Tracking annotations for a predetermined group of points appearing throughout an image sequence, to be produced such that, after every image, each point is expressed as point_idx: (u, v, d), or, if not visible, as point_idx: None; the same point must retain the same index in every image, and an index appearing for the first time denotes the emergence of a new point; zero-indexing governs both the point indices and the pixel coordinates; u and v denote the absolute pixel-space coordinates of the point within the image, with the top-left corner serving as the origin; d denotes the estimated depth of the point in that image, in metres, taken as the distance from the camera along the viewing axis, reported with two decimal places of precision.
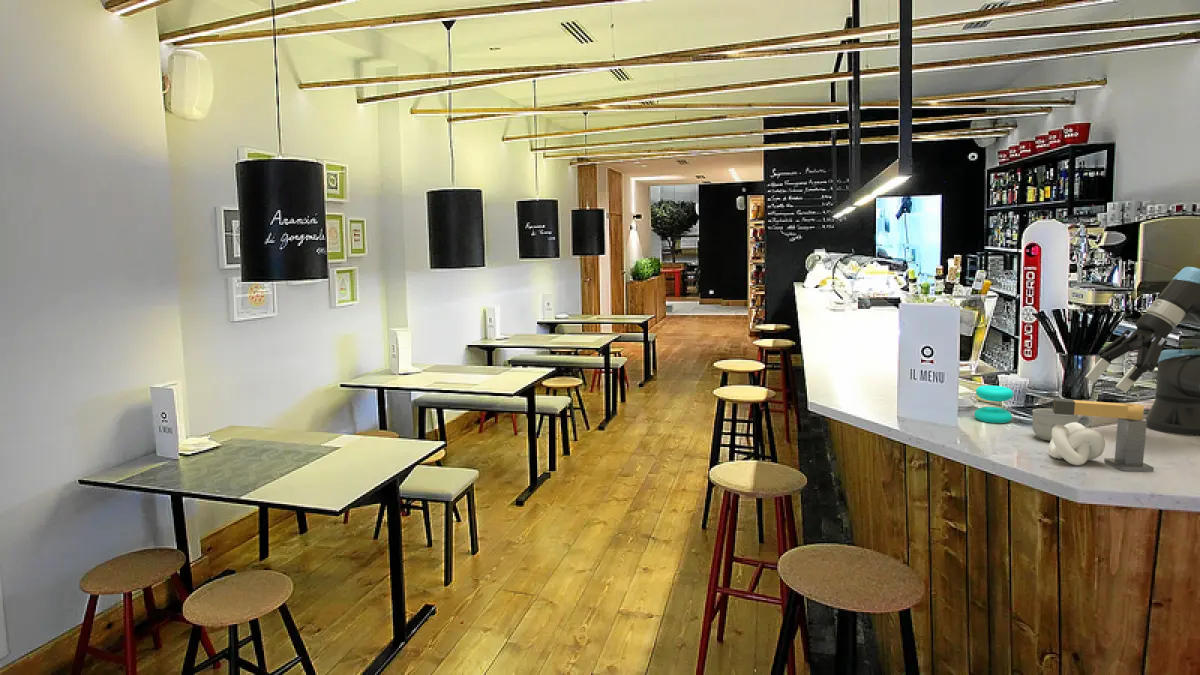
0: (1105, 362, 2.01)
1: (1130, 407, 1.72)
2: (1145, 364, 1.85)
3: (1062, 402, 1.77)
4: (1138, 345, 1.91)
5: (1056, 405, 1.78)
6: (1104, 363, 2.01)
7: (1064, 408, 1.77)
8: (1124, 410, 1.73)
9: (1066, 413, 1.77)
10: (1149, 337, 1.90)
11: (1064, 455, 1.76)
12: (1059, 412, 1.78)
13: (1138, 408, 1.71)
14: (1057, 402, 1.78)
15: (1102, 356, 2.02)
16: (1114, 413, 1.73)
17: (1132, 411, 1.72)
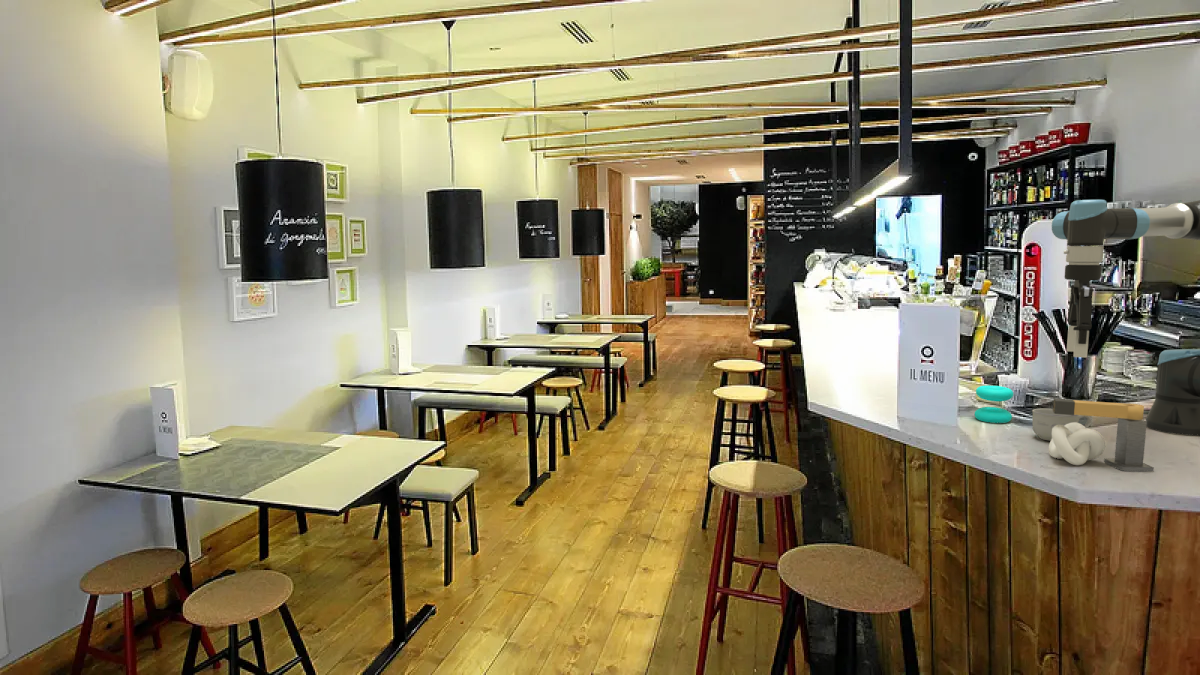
0: None
1: (1130, 407, 1.72)
2: (1079, 326, 1.75)
3: (1062, 402, 1.77)
4: (1074, 302, 1.79)
5: (1056, 405, 1.78)
6: None
7: (1064, 408, 1.77)
8: (1124, 410, 1.73)
9: (1066, 413, 1.77)
10: (1078, 288, 1.78)
11: (1064, 455, 1.76)
12: (1059, 412, 1.78)
13: (1138, 408, 1.71)
14: (1057, 402, 1.78)
15: (1069, 323, 1.87)
16: (1114, 413, 1.73)
17: (1132, 411, 1.72)
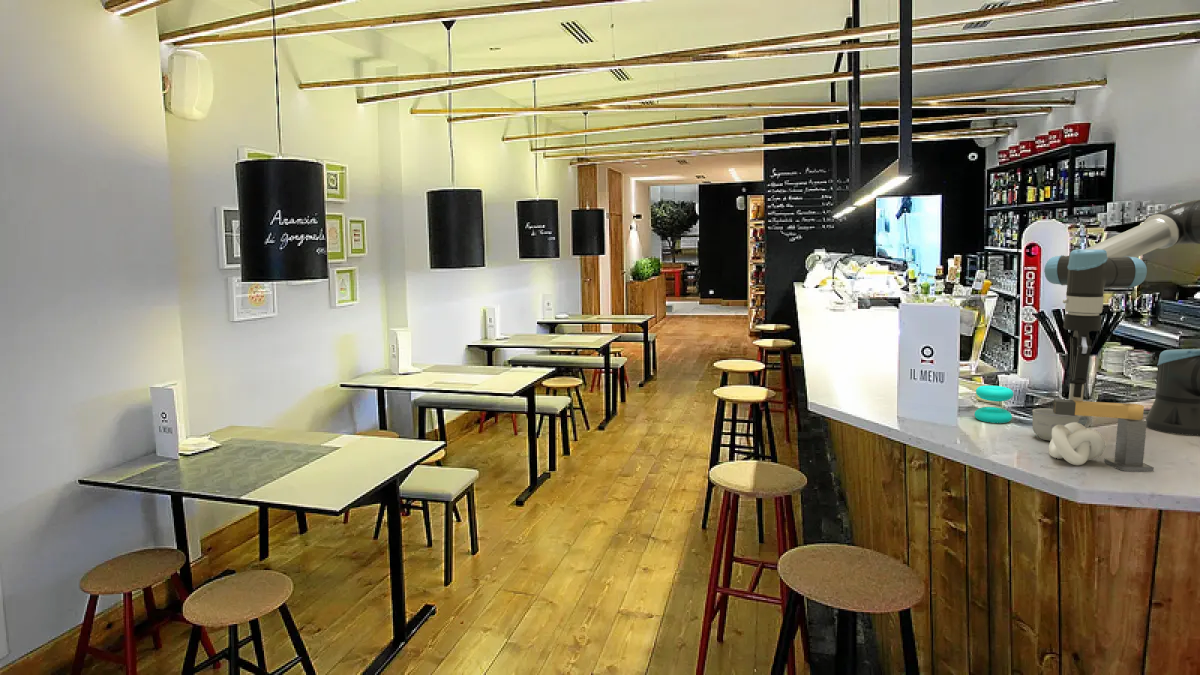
0: None
1: (1130, 407, 1.72)
2: (1074, 381, 1.76)
3: (1063, 403, 1.77)
4: (1072, 352, 1.77)
5: (1057, 406, 1.77)
6: None
7: (1064, 409, 1.77)
8: (1124, 410, 1.72)
9: (1067, 414, 1.77)
10: (1077, 340, 1.74)
11: (1064, 455, 1.76)
12: (1060, 413, 1.77)
13: (1138, 408, 1.71)
14: (1058, 403, 1.77)
15: (1071, 378, 1.80)
16: (1115, 414, 1.73)
17: (1132, 411, 1.71)
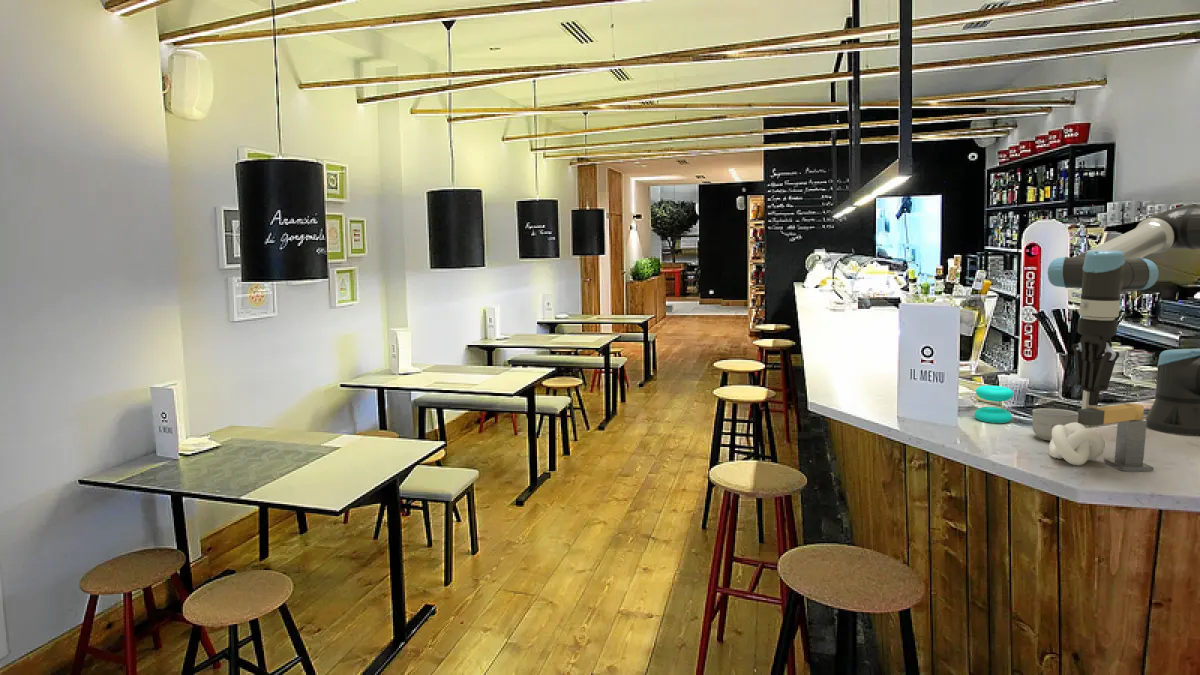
0: None
1: (1138, 408, 1.71)
2: (1095, 389, 1.67)
3: (1096, 413, 1.66)
4: (1089, 359, 1.69)
5: (1092, 417, 1.66)
6: None
7: (1097, 419, 1.67)
8: (1133, 411, 1.71)
9: (1098, 423, 1.67)
10: (1100, 346, 1.66)
11: (1064, 455, 1.76)
12: (1094, 424, 1.67)
13: (1143, 408, 1.71)
14: (1093, 413, 1.66)
15: (1083, 386, 1.72)
16: (1128, 416, 1.70)
17: (1139, 411, 1.71)
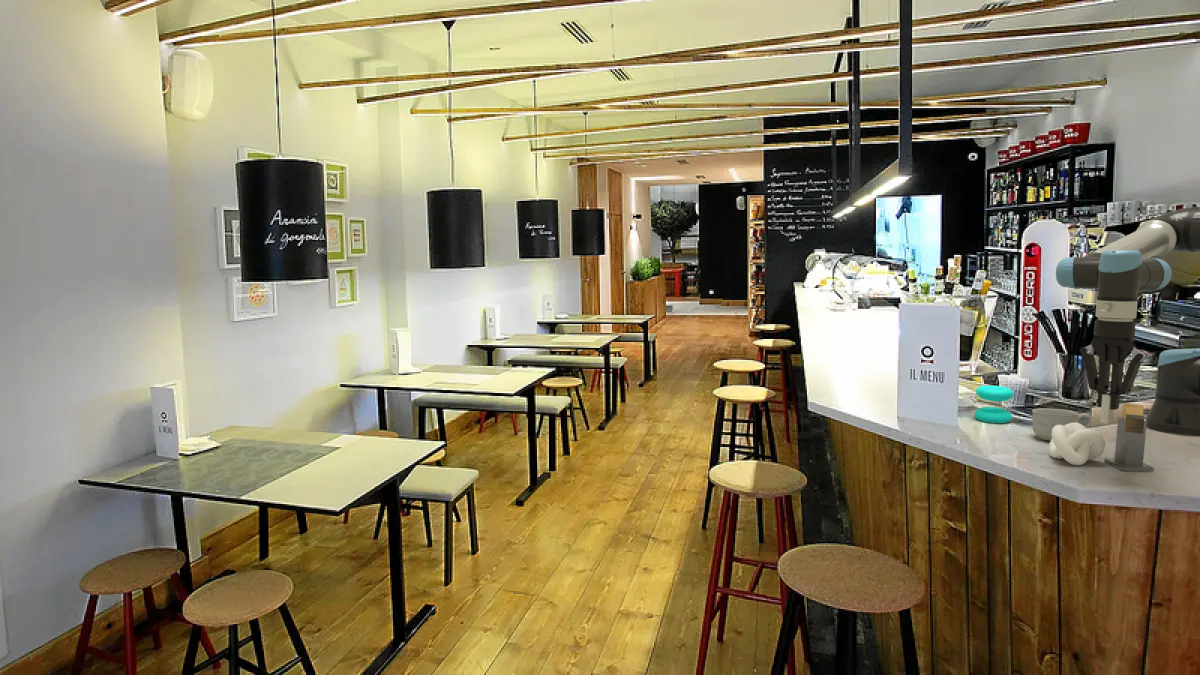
0: None
1: (1142, 407, 1.71)
2: (1123, 392, 1.62)
3: None
4: (1113, 362, 1.63)
5: (1143, 424, 1.59)
6: None
7: None
8: None
9: None
10: (1127, 348, 1.61)
11: (1064, 455, 1.76)
12: None
13: None
14: None
15: (1102, 390, 1.66)
16: None
17: (1143, 411, 1.72)
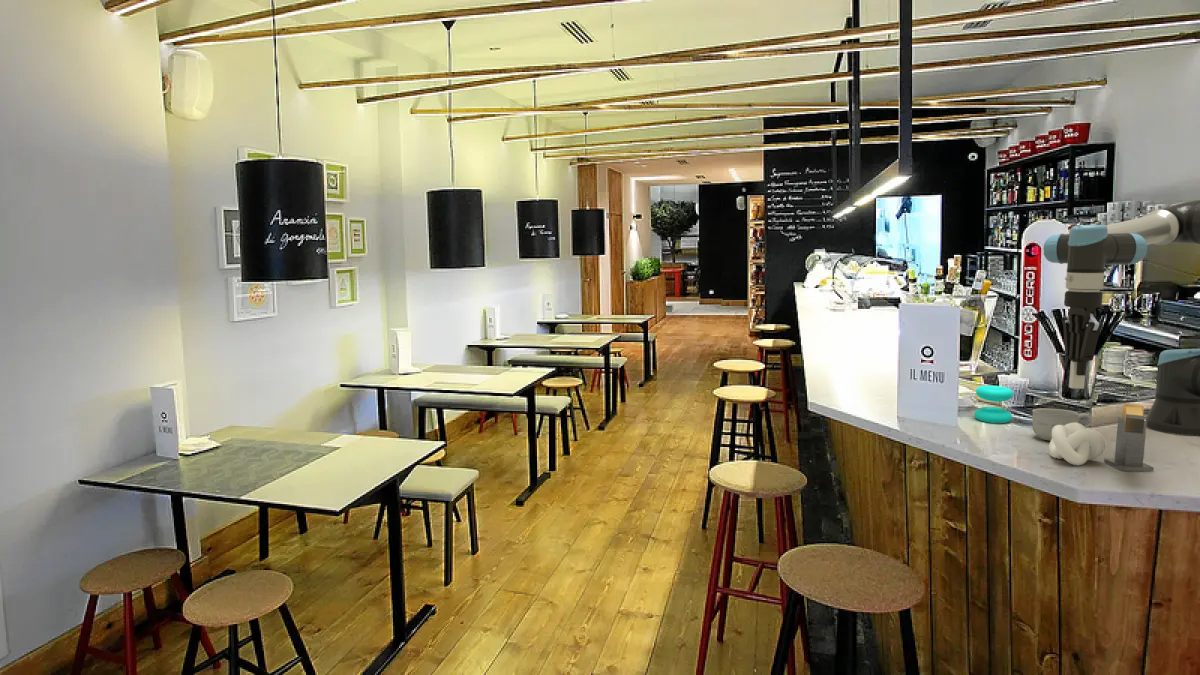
0: None
1: (1142, 407, 1.71)
2: (1081, 359, 1.73)
3: None
4: (1075, 330, 1.75)
5: (1143, 424, 1.59)
6: None
7: None
8: None
9: None
10: (1085, 317, 1.72)
11: (1064, 455, 1.76)
12: None
13: None
14: None
15: (1071, 357, 1.77)
16: None
17: (1143, 411, 1.72)
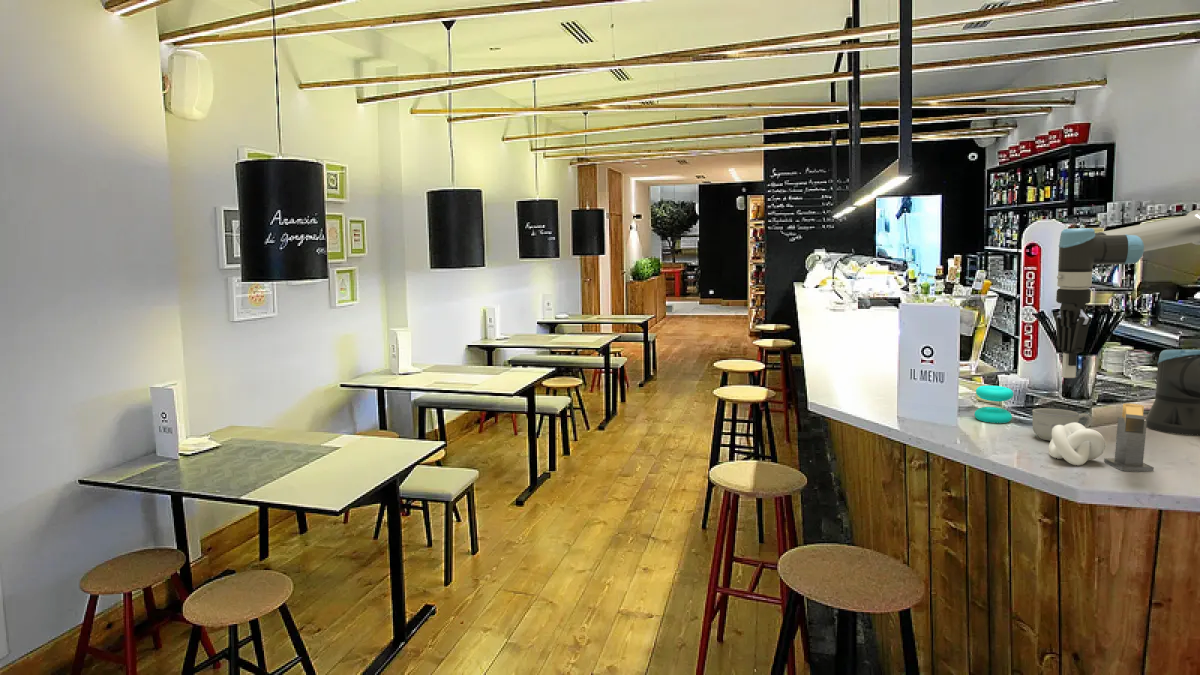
0: None
1: (1142, 407, 1.71)
2: (1073, 350, 1.89)
3: None
4: (1067, 325, 1.91)
5: (1143, 424, 1.59)
6: None
7: None
8: None
9: None
10: (1075, 312, 1.88)
11: (1064, 455, 1.76)
12: None
13: None
14: None
15: (1063, 349, 1.93)
16: None
17: (1143, 411, 1.72)
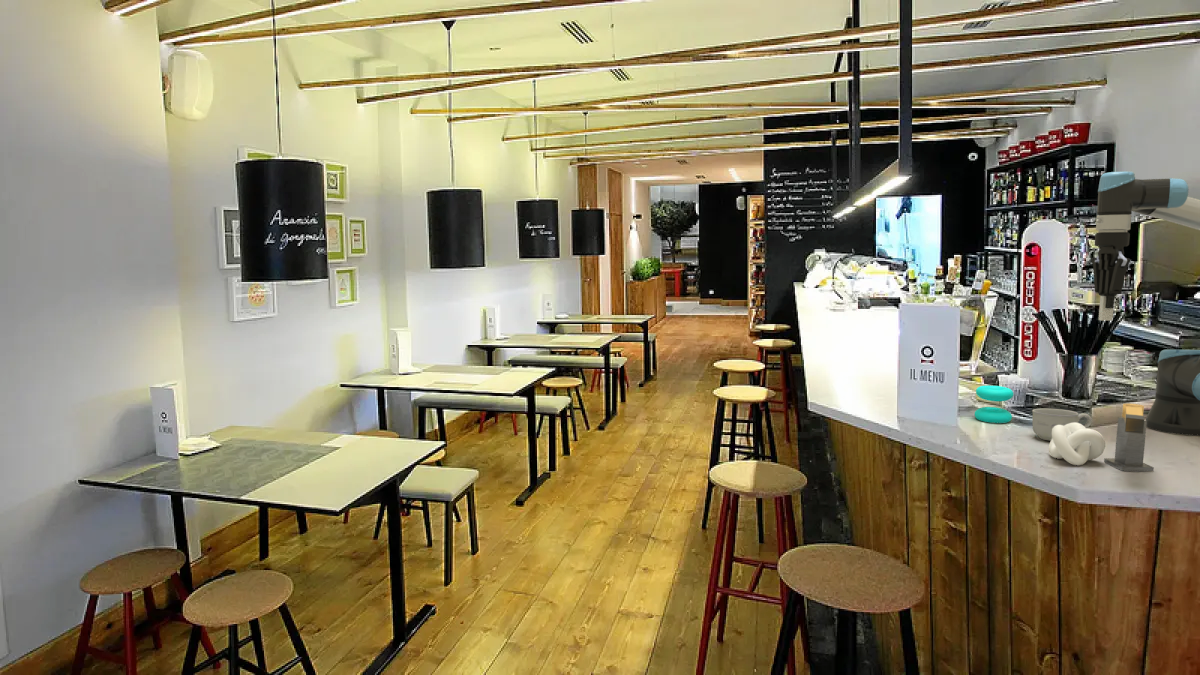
0: None
1: (1142, 407, 1.71)
2: (1110, 292, 1.93)
3: None
4: (1105, 267, 1.94)
5: (1143, 424, 1.59)
6: None
7: None
8: None
9: None
10: (1114, 255, 1.91)
11: (1064, 455, 1.76)
12: None
13: None
14: None
15: (1100, 292, 1.97)
16: None
17: (1143, 411, 1.72)
